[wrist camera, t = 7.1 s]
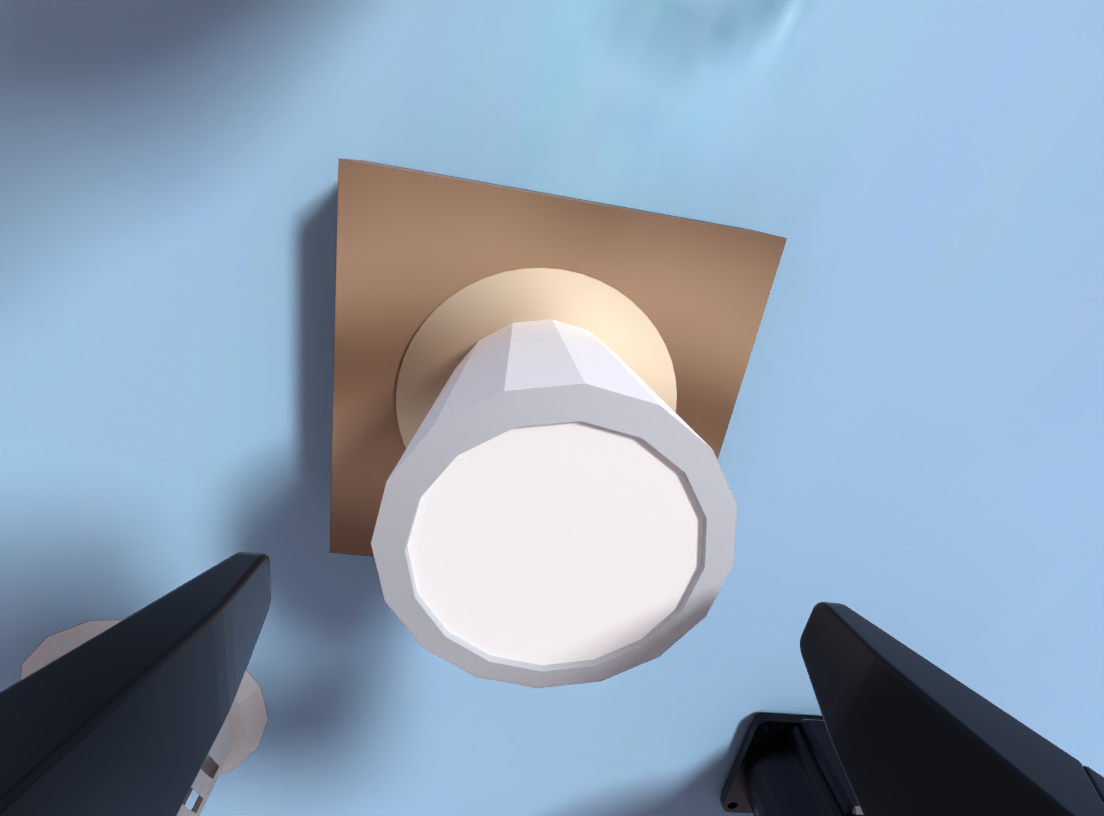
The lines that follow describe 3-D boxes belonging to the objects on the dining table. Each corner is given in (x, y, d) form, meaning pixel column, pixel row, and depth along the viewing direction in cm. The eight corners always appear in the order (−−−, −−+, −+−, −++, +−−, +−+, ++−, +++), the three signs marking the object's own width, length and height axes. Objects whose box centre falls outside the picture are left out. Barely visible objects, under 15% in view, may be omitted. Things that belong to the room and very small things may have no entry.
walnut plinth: (660, 541, 22) (679, 587, 20) (349, 510, 21) (328, 555, 18) (750, 229, 18) (789, 239, 15) (363, 160, 16) (337, 158, 14)
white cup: (580, 539, 19) (616, 731, 12) (386, 454, 17) (312, 625, 11) (698, 366, 17) (816, 489, 10) (490, 250, 15) (476, 310, 8)
